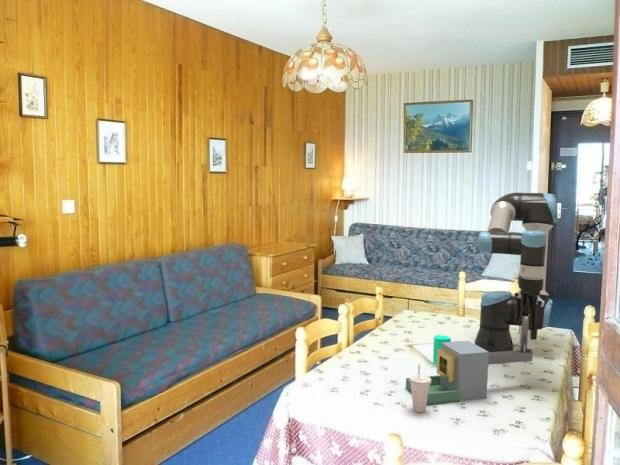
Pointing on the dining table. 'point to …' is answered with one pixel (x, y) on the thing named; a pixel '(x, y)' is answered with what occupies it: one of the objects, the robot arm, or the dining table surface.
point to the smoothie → (420, 391)
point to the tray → (437, 392)
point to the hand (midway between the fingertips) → (526, 346)
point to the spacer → (451, 365)
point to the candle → (439, 345)
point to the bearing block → (468, 370)
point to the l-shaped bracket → (514, 355)
